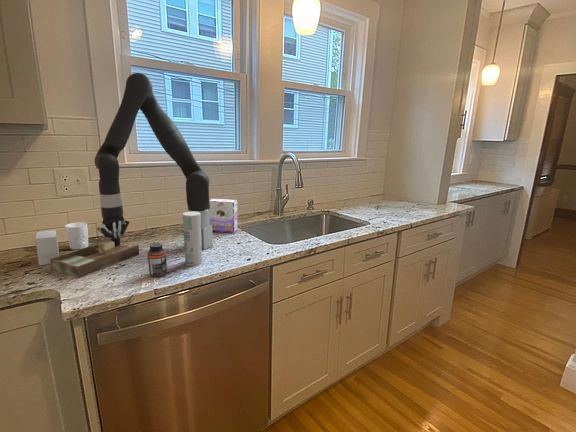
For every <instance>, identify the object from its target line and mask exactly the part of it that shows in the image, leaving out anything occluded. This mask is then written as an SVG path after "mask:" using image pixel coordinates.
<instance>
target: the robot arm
mask: <svg viewBox="0 0 576 432" xmlns="http://www.w3.org/2000/svg"><path fill="white" fill-rule="evenodd" d="M122 96H123V97H122V99H121V102H120V105H119V107H118V110H117V112H116V114H115V116H114V119H113V121H112V122H111V125H110V127H109V129H108V130H107V133H106V136H105V139H104V141H103V143H101V144H102V145H101V146H100V147H99V149H98V150H97V153H96V155H95V157H94V165H95V167H96V168H97V169H98V173H99V174H98V176H99V180H98V189H99V203H100V211H101V217H102V222H101V223H102V224H101V226H100V227H99V226H98V227H97V230H98V232H99V233H101V234H102V235H103V236H104V237H105V238H109V239H110V240H111V241H113V242H114V244H115V247H118V246H120V244H121V236H122V235H125V232H126V231H127V229H128V227H129V224H130V221H128V220H125V218H124V209H123V208H124V207H123V201H122V198H123V197H122V195H121V187H120V183H119V182H120V180H119V179H120V163H119V160H118V157H119V155H120V153H121V152H122V151H124V148H125V147H126V146H127V142H128V140H129V138H130V136H131V134H132V133H131V132H132V131H133V127H134V124H135V121H136V118H137V116H138V113H139V111H141V113H142V114H143V116H144V117H145V119H146V120H147V122H148V124H149V127H150V128H151V130H152V132H153V134H154V136H155V137H156V139H157V140H158V143H160V145H161V147H162V148H163V151H165V152H166V153H167V155H168V156H169V157H170V158H171V159H172V160H173V161H174V162H175V164H176V165H177V166H178V167H179V168H180V170H181V172H182V173H183V175H184V178H185V192H186V193H185V194H186V195H185V196H186V204H187V212H200V214H201V246H202V251H203V250H204V251H205V250H207V249H209V248H211V247H213V246H214V241H213V239H214V238H213V237H214V236H213V231H212V226H211V225H210V202H209V200H210V189H209V188H210V187H209V186H210V178H209V176H208V174H206V172H205V171H204V170H203V168H202V167H201V165H200V164H199V163H198V162H197V160H196V159H195V158H194V155H193V153H192V151H191V149H190V147H189V145H188V143H187V142H186V139H185V138H184V137H183V135H182V133H181V131H180V130H179V128H178V126H177V125H176V123H175V122H174V121H173V119H171V118H170V117H169V116H168V114H167V113H166V112H165V111H164V109H162V107H161V105H160V104H159V101H158V100H157V97H156V95H155V94H154V92H153V84H152V82H151V80H150V78H149V77H148V76H147V75H146V74H143V73H142V72H141V73H140V72H135V73H132V74H130V75H129V76H128V77H127V79H126V81H125V88H124V92H123V95H122Z"/></svg>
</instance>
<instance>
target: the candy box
mask: <svg viewBox="0 0 576 432" xmlns="http://www.w3.org/2000/svg"><path fill="white" fill-rule="evenodd" d="M209 202H210V225H211V226H212V232H217V233H219V232H220V233H231V234H232V233H233V234H234V233H236V232H237V231H238V200H237V199H225V198H224V199H223V198H210V199H209Z"/></svg>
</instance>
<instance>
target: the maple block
mask: <svg viewBox="0 0 576 432" xmlns="http://www.w3.org/2000/svg"><path fill="white" fill-rule="evenodd" d="M97 244H98V247H99V253H102V254H105V255H106V254H109V253H112V252H115V244H114V242H113V241H110V240H109V239H107V240H104V241H100V242H97Z"/></svg>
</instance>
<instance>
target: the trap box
mask: <svg viewBox="0 0 576 432" xmlns="http://www.w3.org/2000/svg"><path fill="white" fill-rule="evenodd" d="M109 241H111V239H110V240H109ZM139 255H140V248H139V245H135V246H128V245H124V244H121V243H120V246H118V247H115V252H112V253H109V254H106V255H105V254H102V253H99V247H98V243H97V244H95V245H91V246H88V247H86V248H83V249H77V250H75V251H72V252H68V253H65V254H63V255H59V256H58V257H55V258H52V259H50V262H51V264H50V269H51V270H52V271H55V272H59V273H61V274H65V275H68V276H70V277H74V278H77V279H80V278H83V277H86V276H88V275H90V274H94V273H95V272H98V271H101V270H103V269H106V268H108V267H111V266H114V265H116V264H119V263H121V262H124V261H126V260H129V259H131V258H134V257H137V256H139Z"/></svg>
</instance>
